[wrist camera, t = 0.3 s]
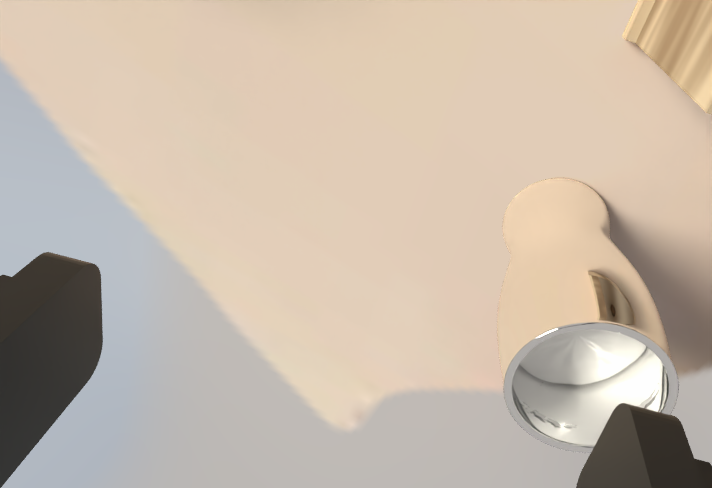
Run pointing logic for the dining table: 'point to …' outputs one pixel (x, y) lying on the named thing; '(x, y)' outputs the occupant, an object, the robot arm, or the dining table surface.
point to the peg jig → (677, 42)
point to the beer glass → (575, 320)
